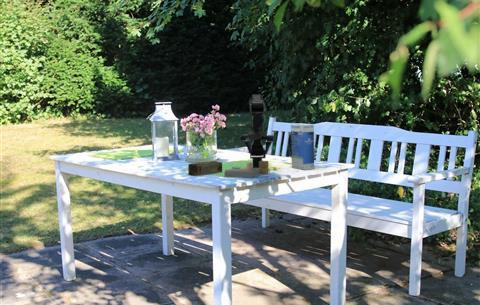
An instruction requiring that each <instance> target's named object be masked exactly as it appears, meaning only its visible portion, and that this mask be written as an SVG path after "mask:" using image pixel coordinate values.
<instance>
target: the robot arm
mask: <svg viewBox="0 0 480 305" xmlns="http://www.w3.org/2000/svg"><path fill="white" fill-rule="evenodd" d="M248 103H249V104H248V107H249V111H250V112H249V113H250V115H251V123H252V126H251V127H250V128H251V129H250V130H249V132H248V133H247V134H241V135H240V136H239V141H242V143H244V144H245V146H246V148H247V151H248V154H249V158H250V159H252V161H251V162H252V168H259V161H263V159H266V155H267V154H268V152H269V150H270V147H271V145H272V143H274V142H275V141H277V136H276V135H275V134H267V135H265V134H264V121H265V120H264V116H263V115H265V113H267V106H266V103H265V99H264V98H263V97H262V94H257V93H256V94H255V93H254V94H251V97H250V98H249V100H248ZM252 140H253V141H252ZM261 140H263V141H264V140H265V142H264V144H265V147H264V145H263V142H262V141H261Z"/></svg>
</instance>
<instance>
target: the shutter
mask: <svg viewBox="0 0 480 305" xmlns="http://www.w3.org/2000/svg"><path fill="white" fill-rule="evenodd" d="M252 167H253V162H252V161H250V162H248V163H246V166H245V167H242V168H240V169H239V170H252V169H253V168H252Z"/></svg>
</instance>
